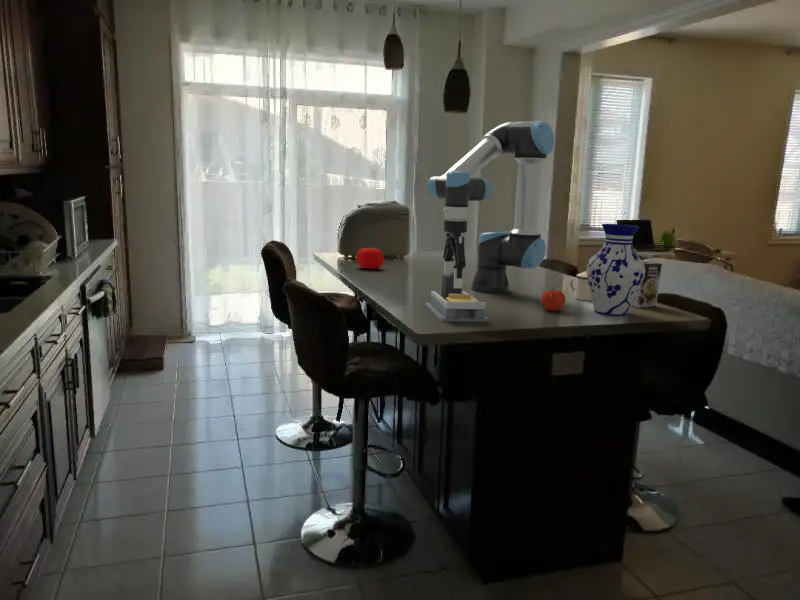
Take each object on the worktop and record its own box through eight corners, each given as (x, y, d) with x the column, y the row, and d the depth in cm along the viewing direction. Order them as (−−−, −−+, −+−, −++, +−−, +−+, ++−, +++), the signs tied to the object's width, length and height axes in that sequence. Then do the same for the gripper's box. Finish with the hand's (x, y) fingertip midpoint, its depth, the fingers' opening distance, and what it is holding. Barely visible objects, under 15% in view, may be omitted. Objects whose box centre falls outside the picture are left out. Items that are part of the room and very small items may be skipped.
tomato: (382, 271, 293) (383, 248, 291) (355, 269, 293) (356, 247, 291) (383, 267, 304) (384, 246, 302) (357, 266, 304) (357, 245, 302)
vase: (608, 320, 208) (618, 227, 202) (570, 308, 225) (579, 222, 219) (652, 317, 215) (663, 228, 210) (613, 306, 232) (622, 223, 227)
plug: (456, 304, 216) (458, 271, 214) (460, 307, 211) (462, 273, 209) (440, 304, 215) (442, 271, 213) (444, 307, 210) (446, 273, 208)
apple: (560, 313, 214) (562, 290, 212) (537, 310, 218) (538, 287, 217) (567, 310, 221) (569, 287, 219) (544, 307, 225) (546, 284, 223)
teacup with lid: (602, 299, 244) (606, 269, 242) (591, 302, 238) (594, 271, 236) (574, 295, 253) (577, 265, 251) (562, 297, 246) (565, 267, 244)
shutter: (472, 302, 203) (472, 294, 203) (478, 306, 197) (478, 298, 196) (445, 301, 202) (446, 293, 201) (450, 306, 195) (451, 297, 195)
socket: (467, 305, 220) (468, 288, 219) (489, 322, 196) (490, 302, 195) (424, 305, 217) (425, 288, 216) (441, 321, 194) (442, 302, 192)
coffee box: (639, 308, 231) (644, 263, 228) (625, 304, 236) (630, 261, 233) (657, 307, 235) (662, 263, 232) (643, 303, 241) (648, 261, 238)
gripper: (436, 216, 219) (433, 277, 223) (454, 223, 195) (450, 291, 199) (457, 217, 220) (454, 277, 225) (477, 223, 196) (474, 291, 201)
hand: (452, 284), depth 212 cm, fingers open, 13 cm apart
